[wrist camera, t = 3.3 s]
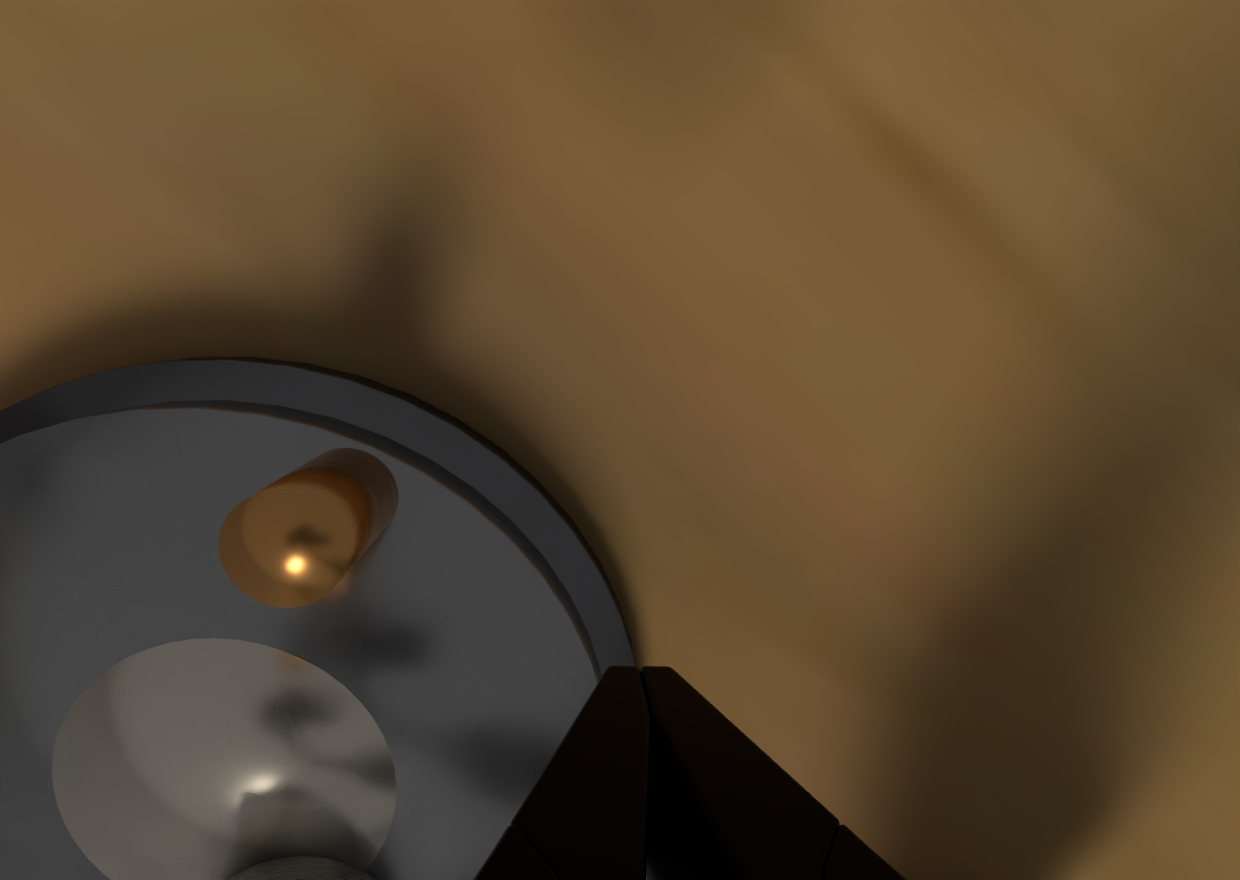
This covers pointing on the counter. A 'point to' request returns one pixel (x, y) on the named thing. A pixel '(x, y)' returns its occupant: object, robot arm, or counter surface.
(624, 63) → the counter surface
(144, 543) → the turntable
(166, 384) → the turntable base
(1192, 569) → the counter surface
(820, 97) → the counter surface
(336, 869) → the cover
